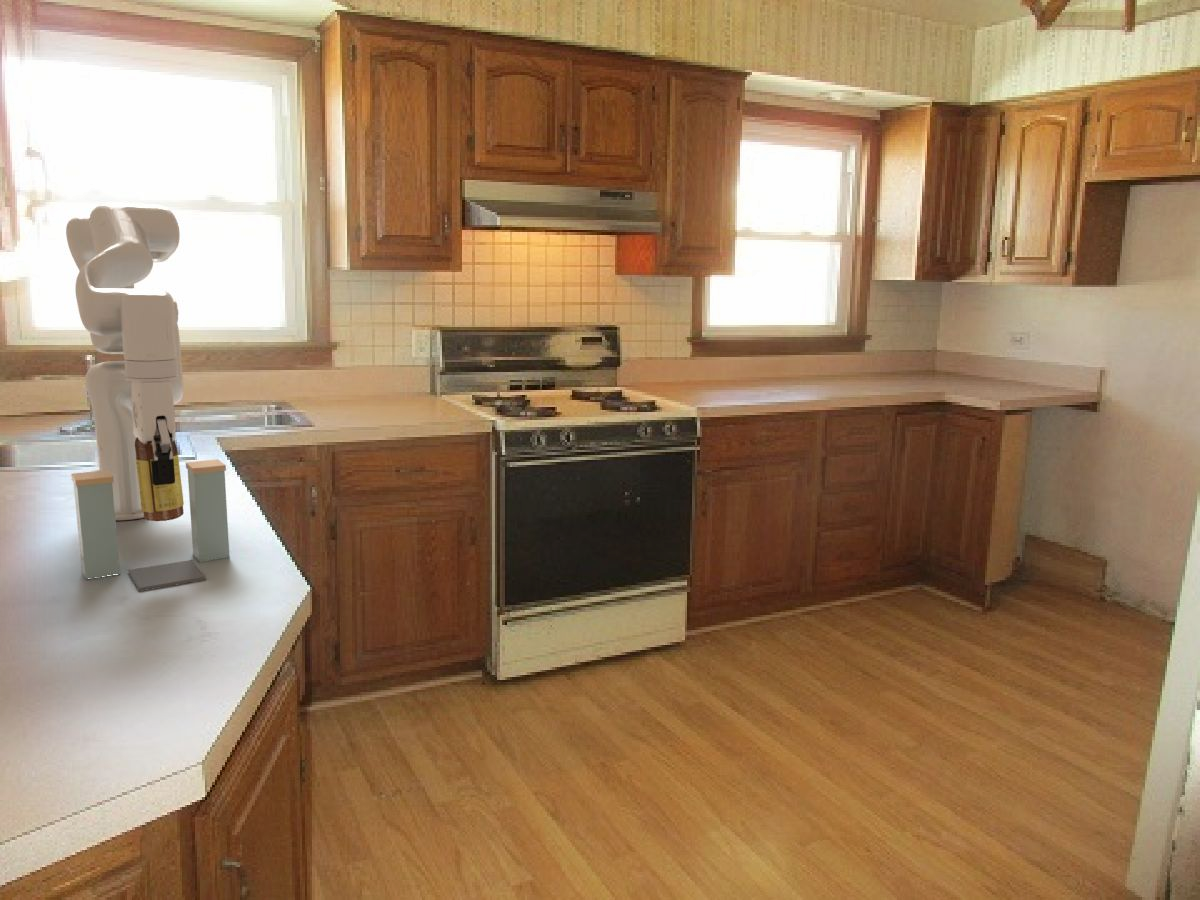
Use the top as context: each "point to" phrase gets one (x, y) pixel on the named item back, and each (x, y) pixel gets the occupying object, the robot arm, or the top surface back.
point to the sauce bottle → (158, 486)
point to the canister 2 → (208, 509)
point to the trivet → (166, 575)
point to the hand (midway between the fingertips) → (159, 478)
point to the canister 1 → (96, 523)
